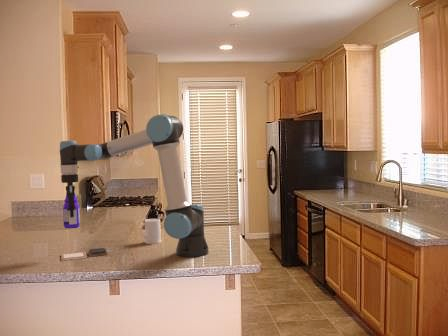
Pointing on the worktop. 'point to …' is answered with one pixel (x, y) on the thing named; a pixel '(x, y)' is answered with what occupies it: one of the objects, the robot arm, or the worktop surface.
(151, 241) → the mug
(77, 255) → the print board
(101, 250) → the ink pad
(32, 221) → the worktop surface
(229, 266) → the worktop surface
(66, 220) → the bottle
